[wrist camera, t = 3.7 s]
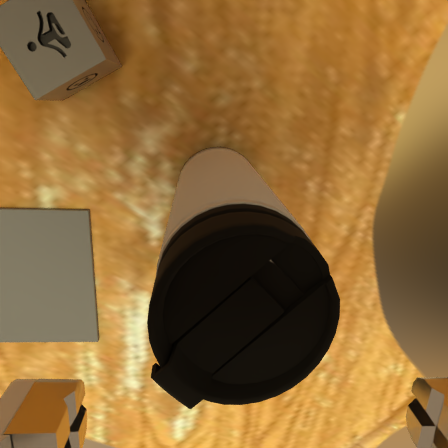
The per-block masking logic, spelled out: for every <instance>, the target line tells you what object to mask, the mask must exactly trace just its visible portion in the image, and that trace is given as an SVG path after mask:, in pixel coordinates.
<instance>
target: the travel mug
mask: <svg viewBox="0 0 448 448" xmlns="http://www.w3.org/2000/svg"><path fill="white" fill-rule="evenodd" d="M339 316H340V298H339V295H338V292H337V290H336V287H335V284H334V281H333V278H332V277H331V275H330V272H329V266H328V264H327V262H326V261H325V259H324V258H323V257H322V255H321V254H320V252H319V251H318V250H317V248H316V247H315V246H314V244H313V243H312V241H311V239H310V238H309V237H308V235H307V234H306V232H305V231H304V229H303V228H302V227H301V226H300V225H299V223H298V222H297V221H296V219H295V218H294V217H293V216H292V214H291V213H290V212H289V211H288V210H287V208H286V207H285V206H284V205H283V203H282V202H281V201H280V200H279V198H278V197H277V196H276V195H275V194H274V192H273V191H272V190H271V189H270V187H269V186H268V185H267V184H266V182H265V181H264V180H263V179H262V178H261V176H260V175H259V174H258V173H257V171H256V170H255V169H254V168H253V166H252V165H251V164H250V163H249V162H248V160H247V159H246V158H244V157H243V156H242V155H241V154H239V153H238V152H236V151H234V150H231V149H228V148H223V147H212V148H208V149H204V150H202V151H200V152H198V153H196V154H195V155H193V156H192V157H191V158H190V159H189V160H188V161H187V162H186V163H185V165H184V167H183V168H182V170H181V173H180V176H179V179H178V183H177V187H176V191H175V195H174V199H173V203H172V208H171V212H170V216H169V220H168V224H167V228H166V232H165V236H164V240H163V244H162V248H161V252H160V256H159V260H158V264H157V272H156V279H155V283H154V287H153V292H152V296H151V300H150V304H149V313H148V322H147V324H148V333H149V341H150V344H151V347H152V350H153V353H154V355H155V357H156V359H157V361H158V363H159V365H160V366H159V365H158V364H157V363H155V364H154V365H153V367H152V373H151V378H152V379H153V380H154V381H155V382H156V383H157V384H158V385H159V386H160V387H162V388H163V389H164V390H165V391H166V392H167V393H169V394H170V395H171V396H172V397H174V398H175V399H176V400H178V401H179V402H180V403H182V404H183V405H185V406H186V407H188V408H189V409H192V408H193V407H194V406H195V405H197V404H198V403H199V402H200V401H202V400H203V399H204V400H207V401H210V402H214V403H219V404H224V405H243V404H250V403H256V402H261V401H264V400H267V399H270V398H273V397H276V396H278V395H280V394H282V393H283V392H285V391H287V390H289V389H291V388H293V387H294V386H295V385H297V384H298V383H299V382H301V381H302V380H303V379H305V378H306V377H307V376H308V375H309V374H310V373H311V372H312V371H313V370H314V369H315V367H316V366H317V365H318V364H319V363H320V361H321V360H322V358H323V357H324V355H325V354H326V352H327V351H328V349H329V347H330V345H331V343H332V340H333V338H334V336H335V333H336V329H337V325H338V321H339Z"/></svg>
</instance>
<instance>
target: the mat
mask: <svg viewBox="0 0 448 448" xmlns="http://www.w3.org/2000/svg"><path fill="white" fill-rule="evenodd" d="M98 340H99V331H98V318H97V304H96V291H95V277H94V264H93V250H92V236H91V223H90V210H86V209H32V208H0V342H98Z"/></svg>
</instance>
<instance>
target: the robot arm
mask: <svg viewBox="0 0 448 448" xmlns="http://www.w3.org/2000/svg"><path fill="white" fill-rule="evenodd" d="M411 391H412V393H413V395H414V396H415V399H414V400H413V401H412V402H411V403H410V404H409V405H408V408H407V414H406V421H407V428H408V431H409V434H410V436H411V439H412V440H413V442H414V444H415V445H416V447H417V448H448V377H440V378H439V377H436V378H417V379H416V380H415V381H414V382H413V386H412V390H411ZM84 396H85V388H84V382H83V381H82V380H73V379H16V380H14V381H13V382H11V383H10V385H9V386H8V388H7V389H6V391H5V392H4V394H3V395H2V396H1V398H0V448H82V447H83V444H84V440H85V434H86V429H87V410H86V408H85V407H84V406H83V405H82V401H83V398H84Z"/></svg>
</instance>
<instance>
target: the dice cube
mask: <svg viewBox="0 0 448 448" xmlns="http://www.w3.org/2000/svg"><path fill="white" fill-rule="evenodd" d="M0 47H1V49H2V50H3V52H4V53H5V55H6V56H7V58H8V59H9V61H10V62H11V64H12V65H13V67H14V69H15V70H16V72H17V73H18V75H19V76H20V78H21V79H22V81H23V82H24V84H25V85H26V87H27V88H28V90H29V91H30V93H31V94H32V96H33V98H34V99H35V100H64V99H66V98H68V97H70V96H71V95H73V94H75V93H77V92H78V91H80V90H82V89H84V88H85V87H87V86H89V85H91V84H92V83H94V82H96V81H97V80H99V79H101V78H103V77H104V76H106V75H108V74H110V73H111V72H113V71H115V70H117V69H118V68H120V67H122V65H121V63H120V62H119V60H118V58H117V56H116V55H115V53H114V51H113V49H112V47H111V46H110V44H109V42H108V40H107V39H106V37H105V35H104V33H103V31H102V30H101V28H100V26H99V24H98V23H97V21H96V19H95V17H94V16H93V14H92V12H91V10H90V8H89V7H88V5H87V3H86V1H85V0H9V1H7V2H5V3H4V4H2V5H1V6H0Z"/></svg>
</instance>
